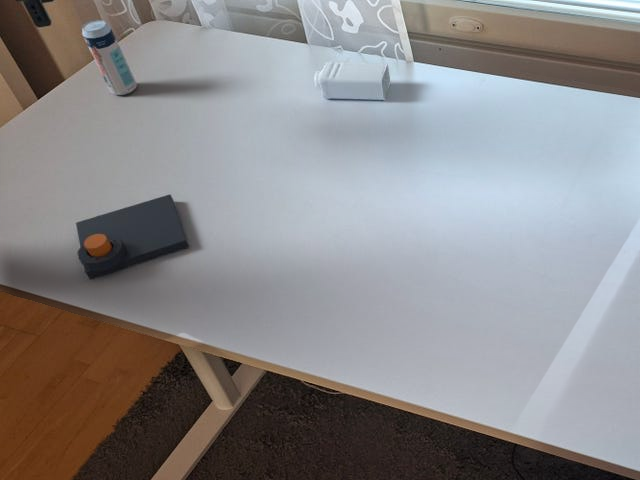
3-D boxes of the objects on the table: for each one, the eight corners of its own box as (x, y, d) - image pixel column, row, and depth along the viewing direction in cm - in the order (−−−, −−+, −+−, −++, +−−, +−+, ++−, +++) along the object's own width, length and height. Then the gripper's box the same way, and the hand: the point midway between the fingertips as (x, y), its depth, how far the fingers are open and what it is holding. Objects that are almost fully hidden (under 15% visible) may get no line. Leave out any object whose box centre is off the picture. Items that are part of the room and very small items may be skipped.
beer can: (113, 84, 128) (82, 20, 118) (139, 81, 128) (110, 17, 119) (109, 98, 125) (77, 33, 115) (136, 95, 125) (105, 30, 116)
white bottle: (323, 81, 126) (318, 59, 123) (391, 83, 125) (387, 61, 122) (314, 100, 122) (308, 78, 119) (384, 102, 121) (380, 80, 118)
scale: (90, 283, 95) (79, 268, 92) (80, 229, 102) (70, 214, 100) (190, 251, 98) (183, 235, 96) (173, 201, 106) (166, 185, 103)
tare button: (91, 260, 94) (85, 250, 93) (88, 247, 96) (82, 237, 94) (113, 253, 95) (107, 243, 93) (110, 240, 96) (104, 231, 95)
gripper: (-42, -126, 93) (23, -2, 105) (-57, -92, 84) (15, 38, 97) (17, -133, 94) (74, -10, 107) (8, -100, 86) (71, 29, 98)
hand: (46, 13), depth 102 cm, fingers open, 8 cm apart
